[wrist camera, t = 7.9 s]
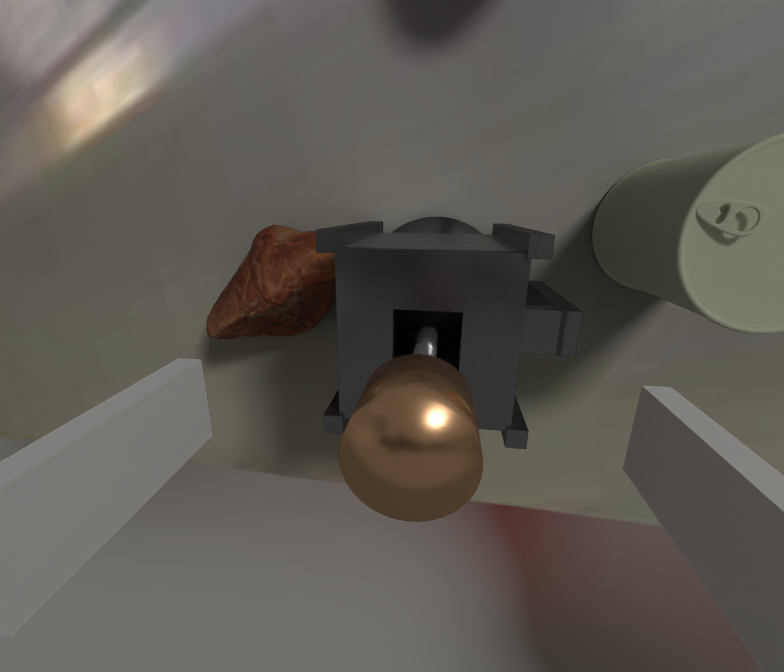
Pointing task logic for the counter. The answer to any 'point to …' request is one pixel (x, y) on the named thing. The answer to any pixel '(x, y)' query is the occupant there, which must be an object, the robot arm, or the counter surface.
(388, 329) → the cube with square hole
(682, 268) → the can
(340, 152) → the counter surface
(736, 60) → the counter surface
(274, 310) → the brown tapered lumpy piece
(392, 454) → the plunger
